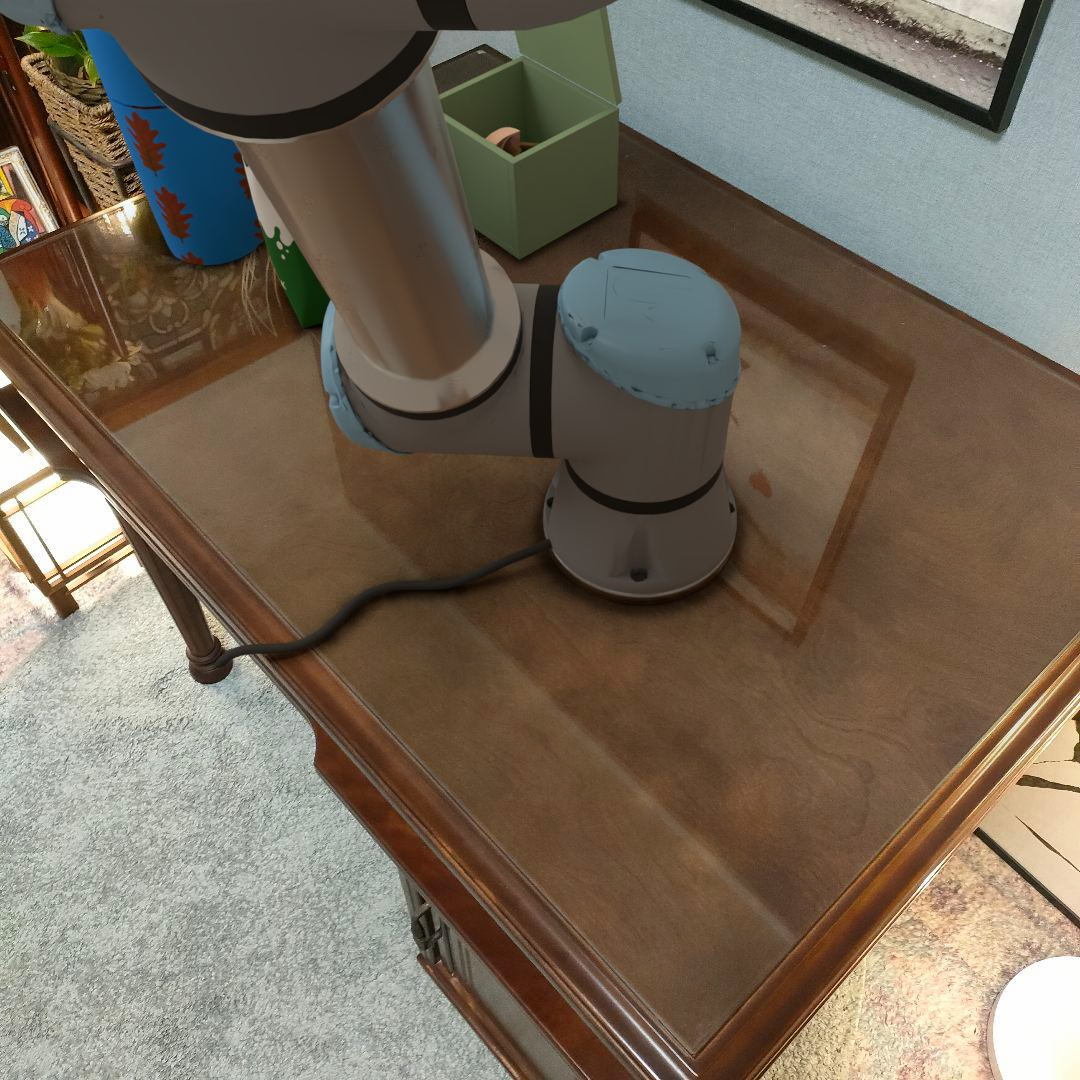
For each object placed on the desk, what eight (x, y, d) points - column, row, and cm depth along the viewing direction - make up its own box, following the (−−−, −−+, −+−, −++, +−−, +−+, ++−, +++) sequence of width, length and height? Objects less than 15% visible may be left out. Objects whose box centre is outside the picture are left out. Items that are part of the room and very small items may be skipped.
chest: (519, 259, 103) (513, 163, 94) (431, 198, 110) (418, 103, 101) (616, 204, 108) (619, 108, 100) (527, 149, 115) (522, 55, 107)
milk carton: (275, 283, 102) (218, 92, 86) (362, 260, 104) (322, 69, 88) (296, 337, 97) (239, 145, 81) (387, 312, 99) (348, 119, 83)
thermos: (147, 257, 106) (45, 10, 86) (197, 197, 112) (112, -45, 92) (241, 273, 103) (159, 24, 83) (287, 212, 109) (220, -34, 90)
